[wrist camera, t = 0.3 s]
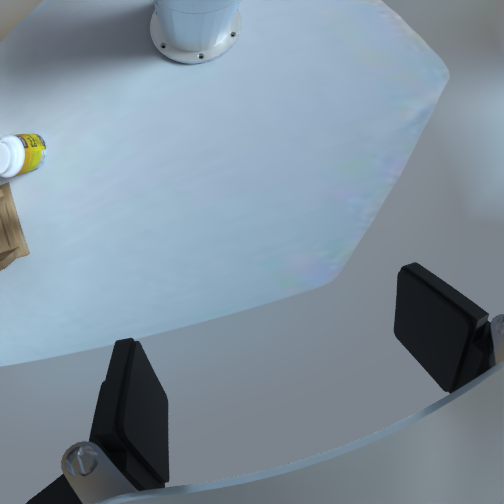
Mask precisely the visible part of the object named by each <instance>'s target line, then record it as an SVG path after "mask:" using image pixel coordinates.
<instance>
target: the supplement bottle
mask: <svg viewBox="0 0 504 504" xmlns="http://www.w3.org/2000/svg"><path fill="white" fill-rule="evenodd" d="M46 155H47V146H46V143H45V141H44V139H43V138H42V137H41V136H39V135H37V134H19V135H7V136H5V137H3V138H1V139H0V176H2V177H5V178H9V177H13V176H16V175H19V174H23V173H26V172H29V171H33V170H36V169H38V168H39V167H40V166H41V165H42V164H43V163H44V161H45V158H46Z"/></svg>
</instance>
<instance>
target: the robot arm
mask: <svg viewBox="0 0 504 504" xmlns="http://www.w3.org/2000/svg"><path fill="white" fill-rule="evenodd" d="M153 1H154V5H155V11H154V13H153V15H152V17H151V22H150V34H151V38H152V40H153V43H154V44H155V46H156V47H157V49H158V50H159V51H160V52H161V53H162V54H163V55H165V56H166V57H168V58H170V59H172V60H174V61H177V62H181V63H186V64H197V63H204V62H208V61H211V60H214V59H216V58H218V57H220V56H221V55H223V54H224V53H226V52H227V51H228V50H229V49H230V48H231V47H232V46H233V45H234V43H235V42H236V40H237V38H238V36H239V33H240V30H241V16H240V12H239V10H238V7H239V4H240V2H241V0H153ZM231 35H234V37H231ZM162 46H165V48H162ZM200 56H202V57H203V58H202V59H199V57H200ZM488 316H489V314H488V313H487V312H486V311H484V310H483V309H482V308H480V307H479V306H478V305H476V304H475V303H474V302H472V301H471V300H469V299H468V298H467V297H465V296H464V295H463V294H461V293H460V292H459V291H457V290H456V289H454V288H453V287H452V286H450V285H449V284H447V283H446V282H444V281H443V280H442V279H440V278H439V277H437V276H436V275H434V274H433V273H431V272H430V271H428V270H427V269H425V268H424V267H423V266H421V265H420V264H418V263H416V262H415V263H411V264H408V265H405V266H403V267H402V268H401V270H400V272H399V273H398V277H397V296H396V310H395V322H394V334H395V336H396V338H397V339H398V340H399V341H400V342H401V343H402V344H403V345H404V347H405V348H406V349H407V350H408V351H409V352H410V353H411V354H412V355H413V357H414V358H415V359H416V360H417V361H418V362H419V363H420V364H421V365H422V367H423V368H424V369H425V370H426V371H427V372H428V373H429V374H430V376H431V377H432V378H433V379H434V380H435V381H436V382H437V384H439V386H440V387H441V388H442V389H443V390H444V391H445V392H449V393H450V395H448V396H446V397H444V398H443V399H441V400H439V401H437V402H436V403H434V404H432V405H430V406H428V407H427V408H425V409H423V410H421V411H419V412H417V413H415V414H413V415H411V416H409V417H407V418H405V419H403V420H401V421H399V422H397V423H395V424H393V425H390V426H388V427H386V428H384V429H382V430H380V431H377V432H375V433H373V434H370V435H368V436H365V437H363V438H361V439H358V440H356V441H353V442H351V443H348V444H345V445H343V446H340V447H338V448H335V449H332V450H329V451H326V452H323V453H320V454H318V455H314V456H312V457H308V458H305V459H302V460H299V461H295V462H292V463H288V464H285V465H281V466H278V467H274V468H270V469H266V470H263V471H258V472H254V473H249V474H245V475H240V476H235V477H230V478H225V479H219V480H215V481H208V482H202V483H196V484H190V485H182V486H173V487H167V488H165V483H166V482H169V454H168V453H169V451H168V399H167V396H166V393H165V391H164V390H163V388H162V386H161V384H160V382H159V380H158V378H157V376H156V374H155V372H154V370H153V368H152V366H151V364H150V362H149V360H148V358H147V356H146V354H145V352H144V350H143V348H142V345H141V344H140V342H139V341H134V339H133V338H127V339H122V340H117V341H116V342H115V345H114V349H113V352H112V356H111V360H110V364H109V368H108V372H107V375H106V380H105V381H104V382H103V383H102V385H101V389H100V392H99V396H98V401H97V405H96V409H95V414H94V418H93V423H92V428H91V433H90V438H89V442H87V441H83V442H78V443H76V444H74V445H72V446H71V447H70V448H68V449H67V450H66V452H65V453H64V455H63V457H62V460H61V468H62V471H63V474H62V475H61V476H60V477H59V478H57V479H56V480H55V481H54V482H52V483H51V484H50V485H49V486H47V487H46V488H45V489H43V490H42V491H41V492H40V493H38V494H37V495H36V496H34V497H33V498H32V499H30V500H29V501H28V502H27V503H26V504H504V314H500V315H497V316H495V317H494V318H493V319H492V321H491V323H490V322H489V321H488Z"/></svg>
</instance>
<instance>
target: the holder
mask: <svg viewBox="0 0 504 504" xmlns="http://www.w3.org/2000/svg"><path fill="white" fill-rule="evenodd" d="M29 253H30V252H29V249H28V247H27V244H26V241H25V238H24V235H23V232H22V228H21V225H20V222H19V219H18V215H17V212H16V208H15V205H14V201H13V197H12V193H11V189H10V185H9V183H6V184H3V185H1V186H0V270H2V269H5V268H6V267H7V266H8V265H10V264H11V263H12V262H13V261H14V260H15V259H17V258H20V257H23V256H27V255H28V254H29Z"/></svg>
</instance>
